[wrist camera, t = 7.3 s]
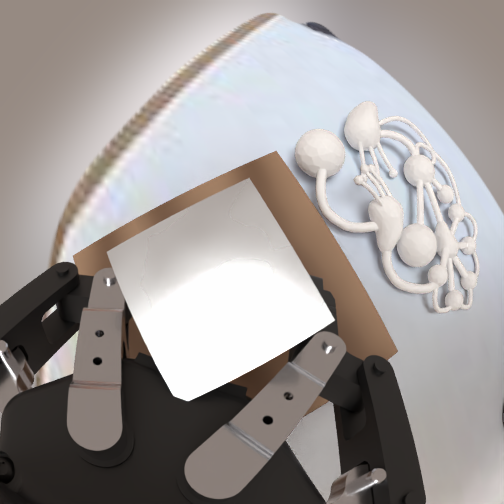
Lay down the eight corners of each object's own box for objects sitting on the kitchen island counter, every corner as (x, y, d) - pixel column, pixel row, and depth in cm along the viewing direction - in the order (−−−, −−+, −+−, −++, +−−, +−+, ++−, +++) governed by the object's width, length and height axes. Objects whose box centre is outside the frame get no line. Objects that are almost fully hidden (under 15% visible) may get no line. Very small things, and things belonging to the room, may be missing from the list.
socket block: (272, 168, 22) (276, 150, 20) (381, 349, 19) (398, 351, 16) (88, 264, 19) (72, 255, 17) (187, 457, 16) (180, 472, 14)
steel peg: (244, 268, 19) (249, 177, 8) (276, 325, 18) (335, 320, 7) (185, 299, 19) (106, 252, 7) (217, 358, 18) (179, 404, 6)
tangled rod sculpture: (486, 252, 23) (513, 240, 19) (423, 357, 19) (458, 357, 15) (372, 109, 26) (389, 84, 22) (270, 167, 22) (282, 134, 18)
